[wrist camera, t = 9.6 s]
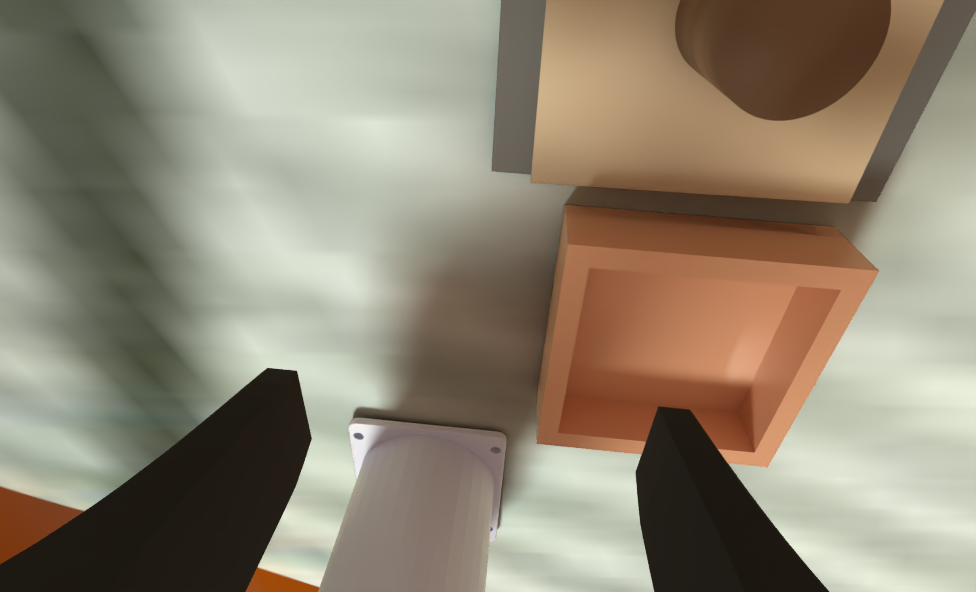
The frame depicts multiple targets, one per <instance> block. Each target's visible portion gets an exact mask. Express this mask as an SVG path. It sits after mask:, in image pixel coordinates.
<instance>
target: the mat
mask: <svg viewBox="0 0 976 592" xmlns="http://www.w3.org/2000/svg"><path fill="white" fill-rule="evenodd" d="M545 9H546V0H501V15H500V33H499V51H498V68H497V86H496V104H495V121H494V139H493V157H492V171H496V172H508V173H521V174H531V171H532V160H533V148H534V137H535V125H536V113H537V102H538V90H539V79H540V67H541V55H542V44H543V32H544V21H545ZM975 10H976V0H944V2H943V4H942V6H941V8H940V11H939V13H938V15H937V17H936V19H935V21H934V23H933V26H932V28H931V30H930V32H929V34H928V36H927V38H926V40H925V43H924V45H923V47H922V49H921V51H920V53H919V55H918V58H917V60H916V62H915V64H914V66H913V68H912V70H911V72H910V75H909V77H908V79H907V81H906V83H905V85H904V87H903V90H902V92H901V94H900V96H899V98H898V100H897V102H896V104H895V107H894V109H893V111H892V113H891V115H890V117H889V119H888V122H887V124H886V126H885V128H884V130H883V132H882V134H881V136H880V139H879V141H878V143H877V145H876V147H875V149H874V151H873V154H872V156H871V158H870V160H869V162H868V164H867V166H866V168H865V171H864V173H863V175H862V177H861V179H860V181H859V183H858V186H857V188H856V190H855V192H854V194H853V196H852V198H851V200H858V201H870V202H877V200H878V198H879V196H880V194H881V192H882V190H883V188H884V186H885V184H886V182H887V180H888V178H889V176H890V174H891V173H892V171H893V169H894V167H895V165H896V163H897V161H898V159H899V157H900V155H901V153H902V151H903V149H904V147H905V146H906V144H907V142H908V140H909V138H910V136H911V134H912V132H913V130H914V128H915V126H916V124H917V122H918V120H919V118H920V117H921V115H922V113H923V111H924V109H925V107H926V105H927V103H928V101H929V99H930V97H931V95H932V93H933V91H934V90H935V88H936V86H937V84H938V82H939V80H940V78H941V76H942V74H943V72H944V70H945V68H946V66H947V64H948V63H949V61H950V59H951V57H952V55H953V53H954V51H955V49H956V47H957V45H958V43H959V41H960V39H961V37H962V35H963V34H964V32H965V30H966V28H967V26H968V24H969V22H970V20H971V18H972V16H973V14H974V12H975Z"/></svg>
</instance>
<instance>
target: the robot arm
mask: <svg viewBox="0 0 976 592" xmlns="http://www.w3.org/2000/svg"><path fill="white" fill-rule="evenodd" d="M348 430H349V436H350V443H351V449H352V456H353V462H354V469H355V475H356V483H355V486H354V489H353V492H352V495H351V498H350V501H349V504H348V507H347V510H346V513H345V515H344V518H343V521H342V524H341V527H340V530H339V533H338V536H337V539H336V542H335V545H334V547H333V550H332V553H331V556H330V559H329V562H328V565H327V568H326V571H325V574H324V577H323V579H322V582H321V585H320V588H319V591H318V592H485V586H486V574H487V563H488V551H489V542H493V541H495V540H496V535H497V526H498V516H499V507H500V498H501V488H502V479H503V469H504V460H505V451H506V440H507V439H506V436H505V435H504V434H503V433H501V432H497V431H487V430H478V429H468V428H458V427H448V426H438V425H428V424H418V423H408V422H399V421H389V420H379V419H369V418H353V419H352V420H351V421H350V423H349V426H348ZM311 439H312V438H311V433H310V429H309V424H308V420H307V415H306V410H305V406H304V401H303V397H302V392H301V387H300V383H299V378H298V374H297V371H293V370H283V369H272V368H267V369H266V370H264V371H263V372H262V373H261V374H260V375H258V376H257V377H256V378H255V379H253V380H252V381H251V382H250V383H249V384H247V385H246V386H245V387H244V388H243V389H241V390H240V391H239V392H238V393H237V394H235V395H234V396H233V397H232V398H231V399H230V400H228V401H227V402H226V403H225V404H224V405H222V406H221V407H220V408H219V409H218V410H216V411H215V412H214V413H213V414H212V415H210V416H209V417H208V418H207V419H206V420H204V421H203V422H202V423H201V424H200V425H198V426H197V427H196V428H195V429H193V430H192V431H191V432H190V433H188V434H187V435H186V436H185V437H184V438H182V439H181V440H180V441H179V442H177V443H176V444H175V445H174V446H172V447H171V448H170V449H169V450H167V451H166V452H165V453H164V454H162V455H161V456H160V457H158V458H157V459H156V460H154V461H153V462H152V463H150V464H149V465H148V466H146V467H145V468H144V469H143V470H141V471H140V472H139V473H137V474H136V475H135V476H133V477H132V478H131V479H129V480H128V481H127V482H125V483H124V484H123V485H121V486H120V487H119V488H117V489H116V490H114V491H113V492H112V493H110V494H109V495H107V496H106V497H105V498H103V499H102V500H100V501H99V502H97V503H96V504H95V505H93V506H92V507H90V508H89V509H87V510H86V511H84V512H83V513H81V514H80V515H78V516H77V517H75V518H74V519H72V520H71V521H69V522H68V523H66V524H65V525H63V526H62V527H60V528H59V529H57V530H56V531H54V532H53V533H51V534H49V535H48V536H46V537H45V538H43V539H42V540H40V541H39V542H37V543H35V544H34V545H32V546H31V547H29V548H27V549H25V550H24V551H22V552H20V553H19V554H17V555H15V556H14V557H12V558H10V559H9V560H7V561H5V562H4V563H2V564H0V592H245V591H246V589H247V587H248V585H249V583H250V581H251V579H252V577H253V575H254V573H255V571H256V568H257V567H258V564H259V562H260V560H261V558H262V556H263V554H264V552H265V550H266V548H267V546H268V544H269V542H270V540H271V537H272V535H273V533H274V531H275V529H276V527H277V525H278V523H279V521H280V519H281V517H282V514H283V512H284V510H285V508H286V506H287V504H288V502H289V500H290V498H291V495H292V493H293V491H294V489H295V487H296V484H297V481H298V478H299V475H300V473H301V470H302V467H303V464H304V461H305V458H306V455H307V452H308V449H309V445H310V442H311ZM636 482H637V495H638V506H639V516H640V524H641V529H642V535H643V540H644V544H645V549H646V554H647V559H648V564H649V569H650V573H651V578H652V583H653V588H654V592H829V591H828V590H827V588H826V587H825V586H824V585H823V584H822V583H821V582H820V580H819V579H818V578H817V577H816V576H815V575H814V573H813V572H812V571H811V570H810V569H809V568H808V566H807V565H806V564H805V563H804V562H803V560H802V559H801V558H800V557H799V555H798V554H797V553H796V552H795V551H794V549H793V548H792V547H791V546H790V545H789V543H788V542H787V541H786V540H785V538H784V537H783V536H782V535H781V533H780V532H779V531H778V530H777V528H776V527H775V526H774V525H773V523H772V522H771V521H770V519H769V518H768V517H767V515H766V514H765V513H764V511H763V510H762V509H761V508H760V506H759V505H758V504H757V502H756V501H755V500H754V498H753V497H752V496H751V494H750V493H749V492H748V490H747V489H746V488H745V486H744V485H743V484H742V482H741V481H740V480H739V478H738V477H737V475H736V474H735V473H734V471H733V470H732V468H731V467H730V466H729V464H728V463H727V461H726V460H725V459H724V457H723V456H722V454H721V453H720V451H719V450H718V449H717V447H716V446H715V444H714V443H713V441H712V440H711V439H710V437H709V436H708V434H707V433H706V431H705V430H704V428H703V427H702V425H701V424H700V423H699V421H698V420H697V418H696V417H695V415H694V414H693V413H692V412H691V410H690V409H681V408H670V407H660V406H658V408H657V411H656V414H655V417H654V420H653V423H652V426H651V429H650V432H649V435H648V438H647V440H646V443H645V446H644V449H643V452H642V455H641V458H640V461H639V464H638V467H637V470H636Z"/></svg>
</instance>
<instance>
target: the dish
mask: <svg viewBox="0 0 976 592" xmlns="http://www.w3.org/2000/svg"><path fill="white" fill-rule="evenodd" d="M878 272H879V270H878V269H877V268H876V267H875V266H874V265H873V264H872V263H871V262H870V261H869V260H867V259H866V258H865V257H864V256H863V255H862V254H861V253H860V252H859V251H858V250H857V249H856V248H855V247H854V246H853V245H852V244H851V243H850V242H849V241H848V240H847V239H846V238H845V237H844V236H843V235H842V234H841V233H840V232H839V231H838V230H837V229H836V228H835V227H830V226H818V225H806V224H794V223H782V222H769V221H757V220H745V219H733V218H721V217H709V216H697V215H684V214H672V213H660V212H648V211H636V210H624V209H612V208H599V207H587V206H575V205H564V212H563V218H562V225H561V232H560V239H559V246H558V253H557V259H556V266H555V273H554V280H553V287H552V294H551V301H550V307H549V314H548V321H547V328H546V335H545V342H544V349H543V355H542V362H541V369H540V376H539V383H538V390H537V444H545V445H555V446H565V447H575V448H585V449H594V450H604V451H614V452H624V453H634V454H642V452H643V449H644V446H645V443H646V440H647V438H648V435H649V432H650V429H651V426H652V423H653V420H654V417H655V414H656V411H657V408H658V406H660V407H670V408H681V409H690V410H691V412H692V413H693V414H694V415H695V417H696V418H697V420H698V421H699V423H700V424H701V425H702V427H703V428H704V430H705V431H706V433H707V434H708V436H709V437H710V439H711V440H712V441H713V443H714V444H715V446H716V447H717V449H718V450H719V451H720V453H721V454H722V456H723V457H724V459H725V460H726V461H727V463H732V464H741V465H751V466H761V467H768V466H769V464H770V462H771V460H772V459H773V457H774V455H775V453H776V452H777V450H778V448H779V446H780V445H781V443H782V441H783V439H784V438H785V436H786V434H787V432H788V431H789V429H790V427H791V425H792V423H793V422H794V420H795V418H796V416H797V415H798V413H799V411H800V409H801V408H802V406H803V404H804V402H805V401H806V399H807V397H808V395H809V394H810V392H811V390H812V388H813V387H814V385H815V383H816V381H817V379H818V378H819V376H820V374H821V372H822V371H823V369H824V367H825V365H826V364H827V362H828V360H829V358H830V357H831V355H832V353H833V351H834V350H835V348H836V346H837V344H838V343H839V341H840V339H841V337H842V336H843V334H844V332H845V330H846V328H847V327H848V325H849V323H850V321H851V320H852V318H853V316H854V314H855V313H856V311H857V309H858V307H859V306H860V304H861V302H862V300H863V299H864V297H865V295H866V293H867V292H868V290H869V288H870V286H871V284H872V283H873V281H874V279H875V277H876V276H877V274H878Z"/></svg>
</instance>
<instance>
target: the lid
mask: <svg viewBox="0 0 976 592" xmlns="http://www.w3.org/2000/svg"><path fill="white" fill-rule="evenodd" d="M943 2H944V0H546V9H545V21H544V32H543V44H542V55H541V67H540V79H539V90H538V102H537V113H536V125H535V137H534V148H533V160H532V171H531V183H543V184H559V185H574V186H589V187H604V188H619V189H634V190H649V191H664V192H680V193H695V194H710V195H725V196H740V197H755V198H770V199H785V200H801V201H816V202H831V203H846V204H849V203H850V200H851V198H852V196H853V194H854V192H855V190H856V188H857V186H858V183H859V181H860V179H861V177H862V175H863V173H864V171H865V168H866V166H867V164H868V162H869V160H870V158H871V156H872V154H873V151H874V149H875V147H876V145H877V143H878V141H879V139H880V136H881V134H882V132H883V130H884V128H885V126H886V124H887V122H888V119H889V117H890V115H891V113H892V111H893V109H894V107H895V104H896V102H897V100H898V98H899V96H900V94H901V92H902V90H903V87H904V85H905V83H906V81H907V79H908V77H909V75H910V72H911V70H912V68H913V66H914V64H915V62H916V60H917V58H918V55H919V53H920V51H921V49H922V47H923V45H924V43H925V40H926V38H927V36H928V34H929V32H930V30H931V28H932V26H933V23H934V21H935V19H936V17H937V15H938V13H939V11H940V8H941V6H942V4H943Z"/></svg>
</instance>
